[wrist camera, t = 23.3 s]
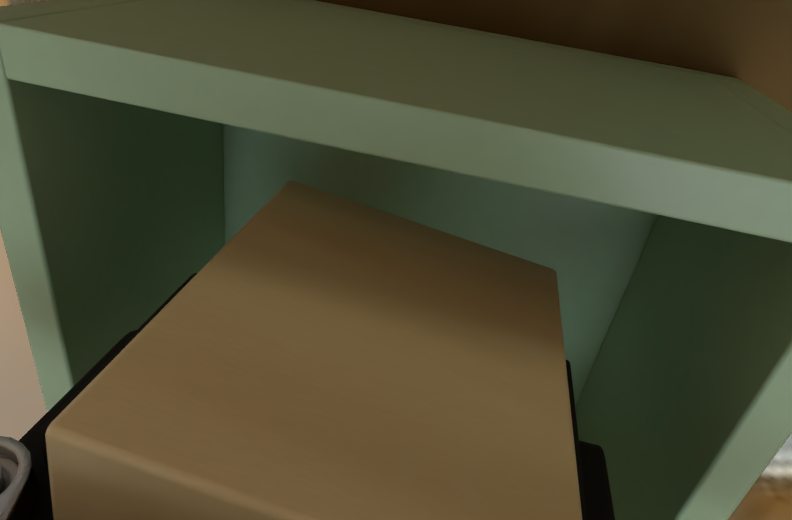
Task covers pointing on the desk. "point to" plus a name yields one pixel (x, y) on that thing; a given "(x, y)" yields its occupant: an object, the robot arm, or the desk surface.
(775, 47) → the desk surface
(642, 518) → the storage box
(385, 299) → the block
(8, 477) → the robot arm
